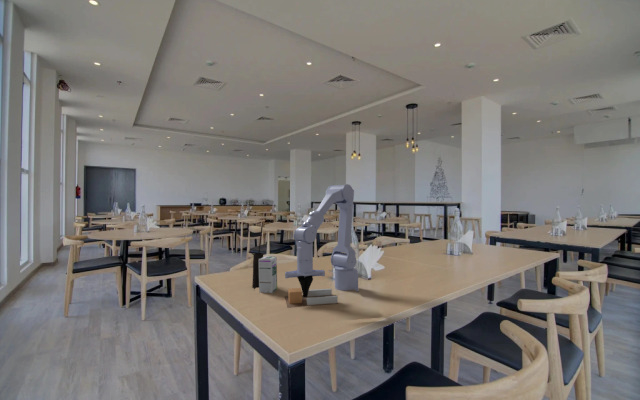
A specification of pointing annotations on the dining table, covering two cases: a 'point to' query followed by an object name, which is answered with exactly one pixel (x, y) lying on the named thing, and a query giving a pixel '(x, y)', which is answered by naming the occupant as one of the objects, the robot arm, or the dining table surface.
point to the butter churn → (256, 265)
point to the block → (295, 295)
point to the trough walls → (321, 299)
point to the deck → (304, 302)
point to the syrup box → (268, 274)
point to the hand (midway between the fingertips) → (305, 296)
